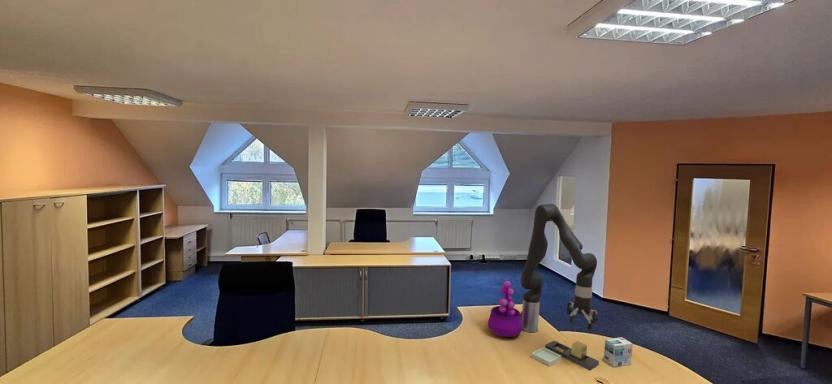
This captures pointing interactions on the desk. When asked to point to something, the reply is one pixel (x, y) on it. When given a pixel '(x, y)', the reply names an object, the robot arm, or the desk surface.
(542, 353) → the parts tray
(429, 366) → the desk surface
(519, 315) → the decorative plant
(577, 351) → the tan rectangular block
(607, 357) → the light bulb box
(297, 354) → the desk surface
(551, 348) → the rail
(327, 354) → the desk surface
